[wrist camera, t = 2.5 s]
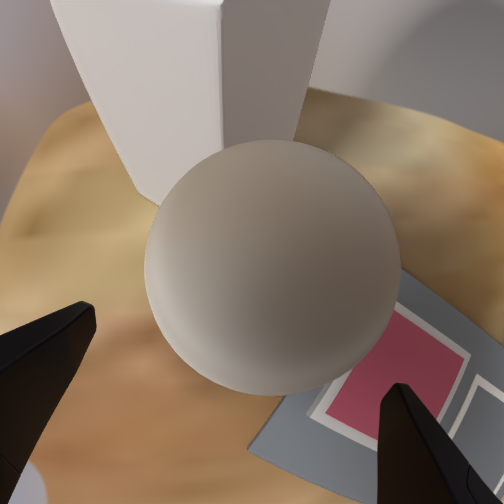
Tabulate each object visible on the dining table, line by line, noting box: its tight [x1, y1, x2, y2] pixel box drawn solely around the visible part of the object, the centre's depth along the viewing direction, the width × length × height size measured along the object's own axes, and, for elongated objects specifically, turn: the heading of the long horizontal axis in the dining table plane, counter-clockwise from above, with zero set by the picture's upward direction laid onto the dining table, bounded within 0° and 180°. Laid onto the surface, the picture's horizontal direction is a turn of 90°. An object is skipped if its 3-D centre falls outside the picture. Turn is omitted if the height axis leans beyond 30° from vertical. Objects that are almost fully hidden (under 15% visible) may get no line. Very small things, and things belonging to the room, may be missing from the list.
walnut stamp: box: [144, 139, 401, 396], centre depth 11 cm, size 5×5×15 cm
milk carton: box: [50, 0, 330, 206], centre depth 11 cm, size 7×7×19 cm
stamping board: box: [247, 268, 504, 504], centre depth 15 cm, size 14×23×2 cm, turn 56°
